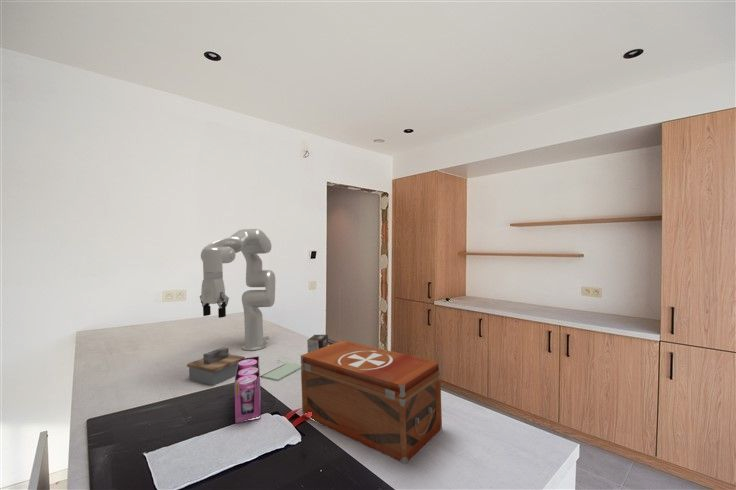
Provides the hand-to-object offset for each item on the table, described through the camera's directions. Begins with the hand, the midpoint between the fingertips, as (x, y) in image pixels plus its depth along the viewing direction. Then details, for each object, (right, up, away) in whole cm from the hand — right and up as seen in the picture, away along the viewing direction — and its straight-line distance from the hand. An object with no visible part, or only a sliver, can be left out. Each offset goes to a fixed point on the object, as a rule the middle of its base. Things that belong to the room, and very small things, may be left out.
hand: (214, 316), depth 144 cm
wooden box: (+66, -25, -38) cm, 80 cm away
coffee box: (+44, -25, +1) cm, 51 cm away
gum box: (+24, -26, -25) cm, 44 cm away
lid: (+1, -21, 0) cm, 21 cm away
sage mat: (+25, -26, +7) cm, 36 cm away
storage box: (+1, -27, 0) cm, 27 cm away
